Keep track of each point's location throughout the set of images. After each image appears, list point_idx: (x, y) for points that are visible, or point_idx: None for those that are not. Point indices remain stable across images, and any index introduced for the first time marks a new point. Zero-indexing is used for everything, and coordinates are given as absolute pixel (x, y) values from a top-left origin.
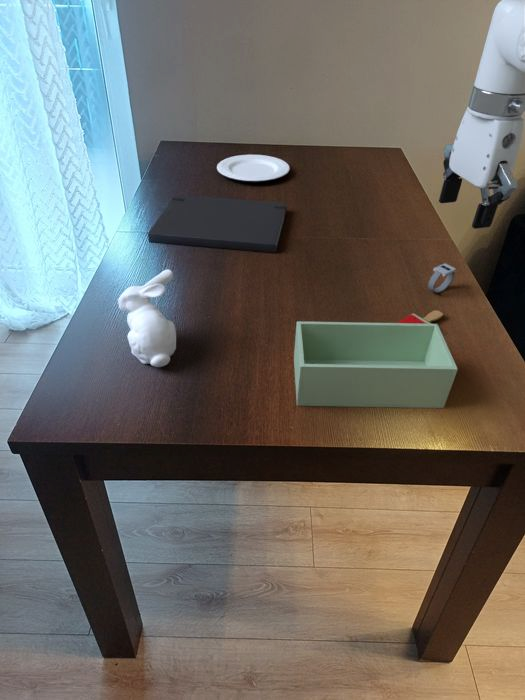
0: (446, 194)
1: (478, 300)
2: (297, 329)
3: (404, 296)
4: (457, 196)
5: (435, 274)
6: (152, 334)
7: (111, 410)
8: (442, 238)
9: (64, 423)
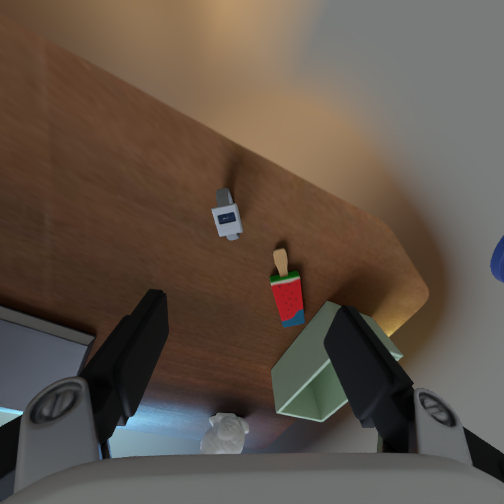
0: (156, 352)
1: (274, 169)
2: (285, 414)
3: (226, 258)
4: (157, 305)
5: (231, 237)
6: (240, 452)
7: (264, 431)
8: (34, 42)
9: (263, 441)
